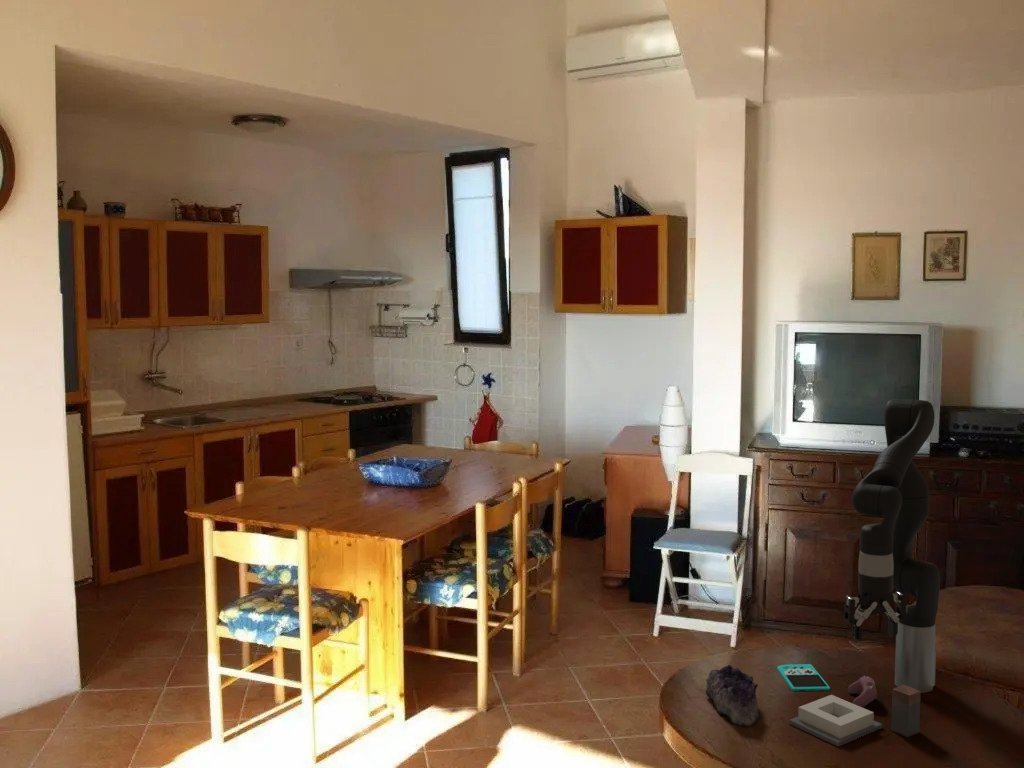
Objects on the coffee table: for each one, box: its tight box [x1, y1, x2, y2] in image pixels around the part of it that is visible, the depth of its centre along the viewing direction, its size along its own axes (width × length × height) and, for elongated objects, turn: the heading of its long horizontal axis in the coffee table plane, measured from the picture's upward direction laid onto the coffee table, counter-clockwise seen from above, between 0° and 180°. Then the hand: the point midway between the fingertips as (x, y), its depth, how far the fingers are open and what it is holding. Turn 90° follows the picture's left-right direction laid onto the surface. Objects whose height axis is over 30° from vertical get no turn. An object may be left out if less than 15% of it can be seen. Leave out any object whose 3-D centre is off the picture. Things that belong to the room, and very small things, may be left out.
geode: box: [705, 664, 760, 728], centre depth 240 cm, size 20×12×10 cm, turn 6°
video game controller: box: [847, 675, 878, 708], centre depth 244 cm, size 10×5×7 cm, turn 169°
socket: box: [788, 694, 883, 747], centre depth 231 cm, size 16×14×4 cm
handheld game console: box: [776, 663, 831, 692], centre depth 259 cm, size 10×16×1 cm, turn 1°
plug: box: [890, 685, 922, 738], centre depth 228 cm, size 4×4×10 cm
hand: (874, 638), depth 226 cm, fingers open, 8 cm apart
